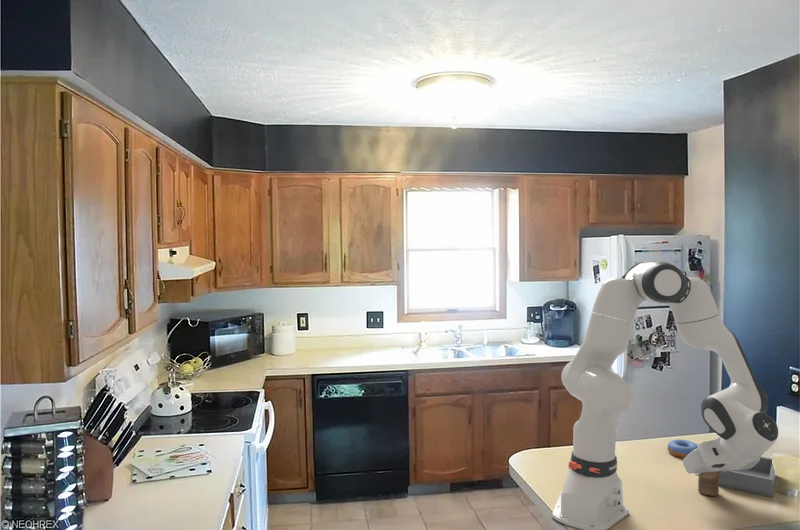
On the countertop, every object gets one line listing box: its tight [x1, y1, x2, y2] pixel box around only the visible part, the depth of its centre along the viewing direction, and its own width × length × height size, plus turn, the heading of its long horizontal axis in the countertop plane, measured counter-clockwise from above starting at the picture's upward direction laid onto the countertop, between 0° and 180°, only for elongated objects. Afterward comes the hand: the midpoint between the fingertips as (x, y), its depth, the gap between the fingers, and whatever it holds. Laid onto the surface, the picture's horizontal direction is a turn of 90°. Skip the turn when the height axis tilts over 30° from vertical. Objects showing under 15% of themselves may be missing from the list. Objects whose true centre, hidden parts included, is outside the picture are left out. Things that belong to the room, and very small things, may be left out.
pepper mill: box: [697, 471, 720, 497], centre depth 166 cm, size 5×5×11 cm
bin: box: [719, 455, 776, 498], centre depth 175 cm, size 18×14×5 cm
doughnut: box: [667, 439, 698, 459], centre depth 195 cm, size 10×10×5 cm
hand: (707, 472), depth 167 cm, fingers closed on pepper mill, 5 cm apart
